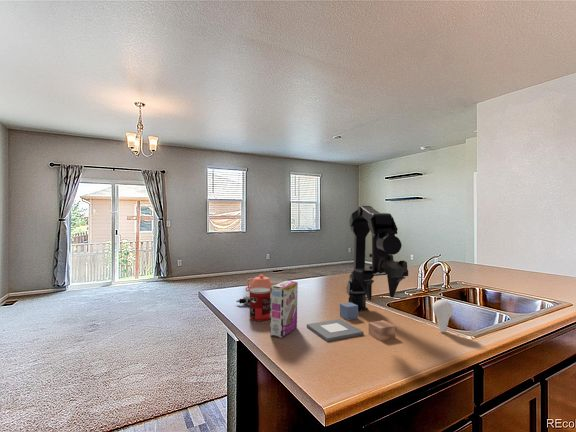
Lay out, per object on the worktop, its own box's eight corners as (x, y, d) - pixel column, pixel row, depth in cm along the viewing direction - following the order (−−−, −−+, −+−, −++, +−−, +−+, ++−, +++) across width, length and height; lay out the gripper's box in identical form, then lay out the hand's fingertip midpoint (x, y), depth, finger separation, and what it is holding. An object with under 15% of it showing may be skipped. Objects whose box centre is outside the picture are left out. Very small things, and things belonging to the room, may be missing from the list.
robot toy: (234, 308, 137) (259, 311, 128) (233, 297, 137) (259, 300, 128) (253, 301, 147) (278, 304, 138) (253, 292, 147) (277, 294, 138)
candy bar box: (283, 339, 100) (283, 287, 100) (269, 336, 102) (269, 286, 102) (298, 327, 110) (298, 281, 110) (285, 325, 112) (285, 280, 112)
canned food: (249, 315, 124) (249, 287, 124) (270, 314, 124) (270, 287, 124) (249, 321, 116) (249, 292, 116) (270, 321, 117) (270, 291, 117)
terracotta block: (383, 331, 106) (383, 320, 106) (395, 338, 101) (395, 325, 101) (368, 334, 104) (368, 322, 104) (380, 341, 99) (380, 328, 99)
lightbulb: (445, 336, 101) (445, 303, 101) (428, 330, 107) (428, 298, 107) (457, 333, 104) (457, 300, 104) (440, 327, 110) (440, 296, 110)
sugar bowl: (272, 298, 149) (273, 277, 149) (243, 298, 149) (243, 277, 149) (274, 292, 161) (274, 272, 161) (247, 292, 161) (247, 272, 161)
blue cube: (350, 314, 124) (350, 302, 124) (358, 318, 120) (358, 305, 120) (339, 316, 122) (339, 303, 122) (347, 320, 118) (347, 307, 118)
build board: (340, 321, 116) (340, 318, 116) (363, 334, 103) (363, 331, 103) (306, 327, 110) (306, 323, 110) (327, 341, 98) (327, 338, 98)
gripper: (373, 255, 92) (374, 308, 91) (421, 252, 99) (421, 301, 99) (351, 251, 102) (351, 299, 102) (396, 249, 109) (396, 294, 109)
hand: (381, 298), depth 102 cm, fingers open, 9 cm apart
